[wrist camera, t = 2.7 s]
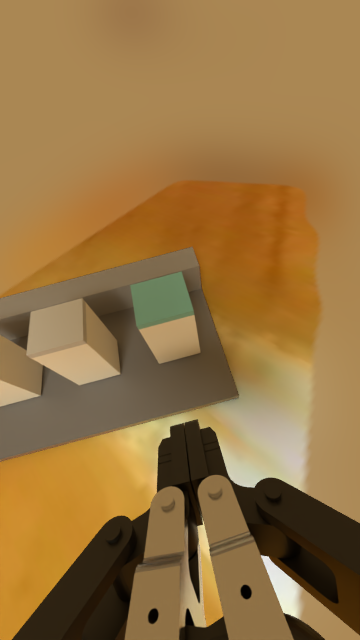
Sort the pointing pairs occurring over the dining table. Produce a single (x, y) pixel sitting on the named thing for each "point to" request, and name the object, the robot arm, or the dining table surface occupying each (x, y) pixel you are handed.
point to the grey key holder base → (134, 357)
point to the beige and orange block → (18, 374)
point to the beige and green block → (166, 317)
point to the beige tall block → (73, 342)
